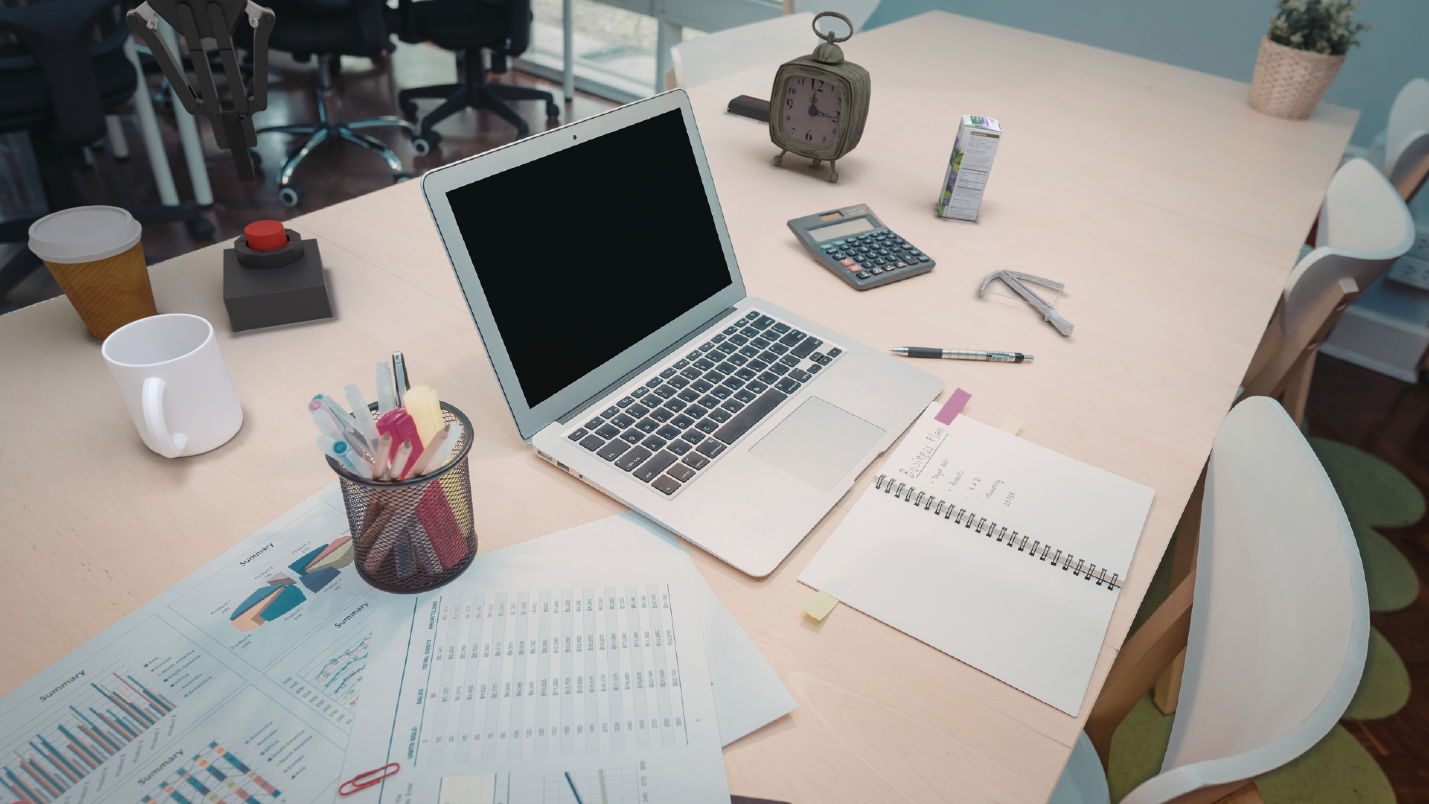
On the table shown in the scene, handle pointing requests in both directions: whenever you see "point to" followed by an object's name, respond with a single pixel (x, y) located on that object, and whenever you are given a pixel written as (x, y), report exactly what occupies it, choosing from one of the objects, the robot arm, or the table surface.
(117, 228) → the disposable coffee cup
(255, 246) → the button
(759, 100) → the usb drive
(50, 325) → the table surface
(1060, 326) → the crossbow
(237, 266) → the red mushroom button box
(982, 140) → the syrup box
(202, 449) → the mug
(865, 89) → the tabletop clock
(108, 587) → the table surface
